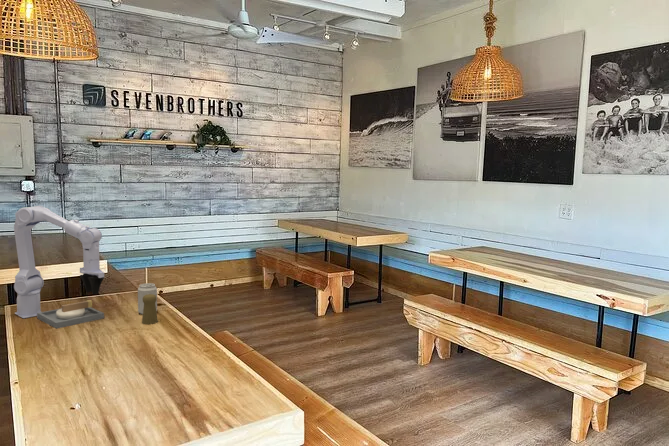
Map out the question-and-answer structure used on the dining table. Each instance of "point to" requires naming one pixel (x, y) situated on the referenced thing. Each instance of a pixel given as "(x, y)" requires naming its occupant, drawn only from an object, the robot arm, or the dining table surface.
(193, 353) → the dining table surface
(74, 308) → the dial
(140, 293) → the can
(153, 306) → the cork
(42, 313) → the slate tray
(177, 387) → the dining table surface
